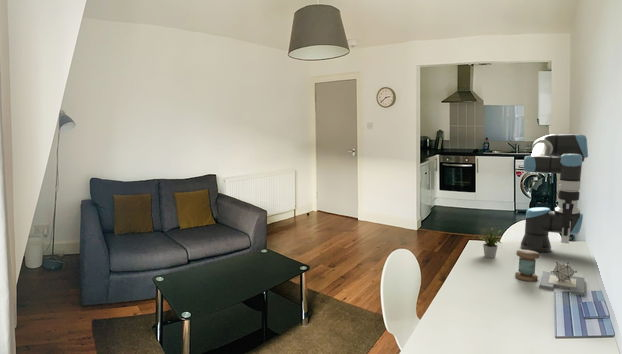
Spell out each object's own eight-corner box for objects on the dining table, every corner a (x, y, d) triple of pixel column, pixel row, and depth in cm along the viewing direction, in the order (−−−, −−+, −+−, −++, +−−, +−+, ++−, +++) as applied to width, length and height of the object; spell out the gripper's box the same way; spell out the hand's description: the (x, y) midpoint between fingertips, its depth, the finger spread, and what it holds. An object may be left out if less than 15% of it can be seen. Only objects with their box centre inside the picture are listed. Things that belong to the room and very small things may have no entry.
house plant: (471, 258, 215) (472, 227, 213) (474, 251, 228) (475, 222, 226) (501, 262, 209) (502, 230, 207) (502, 254, 221) (504, 225, 219)
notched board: (543, 274, 192) (543, 270, 192) (584, 281, 183) (584, 277, 183) (539, 288, 175) (539, 284, 175) (584, 296, 166) (584, 292, 166)
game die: (566, 290, 178) (575, 277, 171) (545, 280, 182) (554, 267, 175) (572, 276, 182) (581, 263, 176) (552, 266, 187) (560, 253, 180)
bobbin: (516, 273, 193) (518, 248, 192) (538, 277, 188) (540, 251, 187) (513, 279, 186) (515, 253, 184) (536, 283, 181) (538, 256, 179)
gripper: (560, 186, 186) (557, 231, 189) (557, 193, 166) (553, 244, 168) (580, 187, 182) (576, 233, 185) (579, 195, 162) (575, 247, 164)
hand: (565, 239), depth 177 cm, fingers open, 13 cm apart
